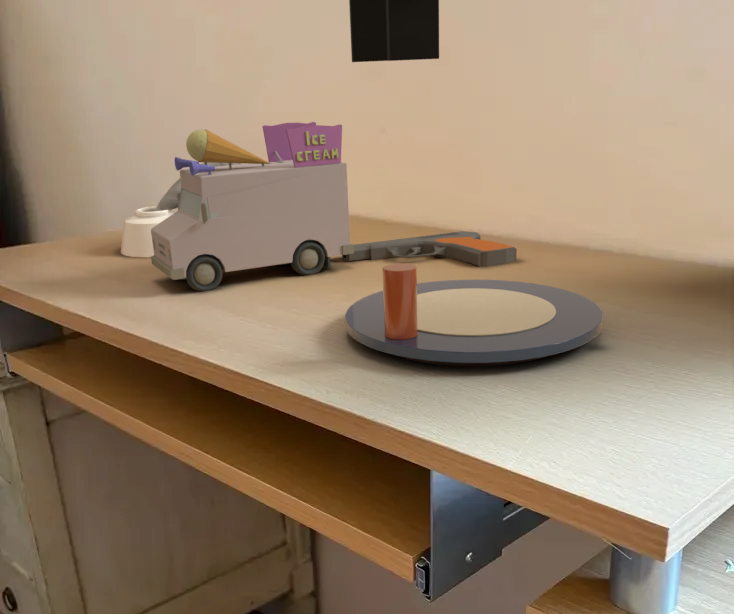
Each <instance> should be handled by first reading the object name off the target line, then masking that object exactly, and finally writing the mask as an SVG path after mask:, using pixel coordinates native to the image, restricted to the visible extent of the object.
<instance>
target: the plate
mask: <svg viewBox="0 0 734 614" xmlns="http://www.w3.org/2000/svg"><path fill="white" fill-rule="evenodd" d="M417 268H418V267H417V265H415V264H412V263H405V262H404V263H401V262H398V263H390V264H386V265H384V266H383V267H382V287H383V288H382V290H380V291H377V292H374V293H371V294H369V295H367V296H364V297H362V298H360V299H358V300H357V301H355V302H354V303H353V304H351V305H350V306H349V307H348V308H347V310H346V312H345V315H344V318H345V319H344V320H345V330H346V331H347V334H348V335H349V336H350V337H351V338H352V339H353V340H355V341H357V342H358V343H360V344H361V345H364V346H366V347H368V348H370V349H373V350H376V351H379V352H382V353H386V354H388V355H393V356H396V355H397V356H396V357H399V356H402V357H407V358H413V359H420V360H428V361H439V362H456V363H491V362H508V361H518V360H526V359H533V358H540V357H544V358H546V357H545V356H547V357H550V356H553V355H559V354H561V353H565V352H569V351H572V350H574V349H577V348H579V347H582V346H584V345H586V344H588V343H590V342H591V341H592V340H594V339H595V338H597V336H598V335H599V334H600V333H601V331H602V327H603V323H604V313H603V310H602V309H601V307H600V306H599V305H598V304H596V303H595V302H594V301H593V300H591V299H589V298H588V297H585V296H583V295H582V294H579V293H576V292H573V291H570V290H566V289H563V288H558V287H554V286H550V285H544V284H540V283H539V284H538V283H532V282H526V281H525V282H524V281H516V280H502V279H500V280H499V279H451V280H449V279H448V280H438V281H427V282H420V283H419V282H418V279H417V278H418V269H417ZM549 355H550V356H549ZM402 357H401V358H402ZM540 359H541V358H540Z"/></svg>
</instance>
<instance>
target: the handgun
mask: <svg viewBox="0 0 734 614" xmlns="http://www.w3.org/2000/svg"><path fill="white" fill-rule="evenodd" d="M353 245H354V253H353V254H347V255H341V257H342V260H344V261H345V262H348V263H350V262H356V261H357V262H358V261H366V260H371V261H375V260H376V261H377V260H385V259H386V260H387V259H395V258H396V259H397V258H417V257H427V256H431V257H437V258H442V259H443V258H444V259H454V260H457V261H460V262H463V263H466V264H471V265H473V266H476V267H479V268H481V267H483V268H484V267H492V266H493V267H494V266H500V265H506V264H510V263H514V262H516V261H517V253H518V252H517V251H518V250H517V248H516V247H514V246H511V245H509V244H504V243H500V242H496V241H491V240H485V239H481V235H480V233H479V232H476V231H466V230H465V231H464V230H462V231H454V232H446V233H438V234H431V235H422V236H414V237H404V238H396V239H388V240H381V241H373V242H371V241H370V242H364V243H356V244H355V243H354V244H353Z"/></svg>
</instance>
